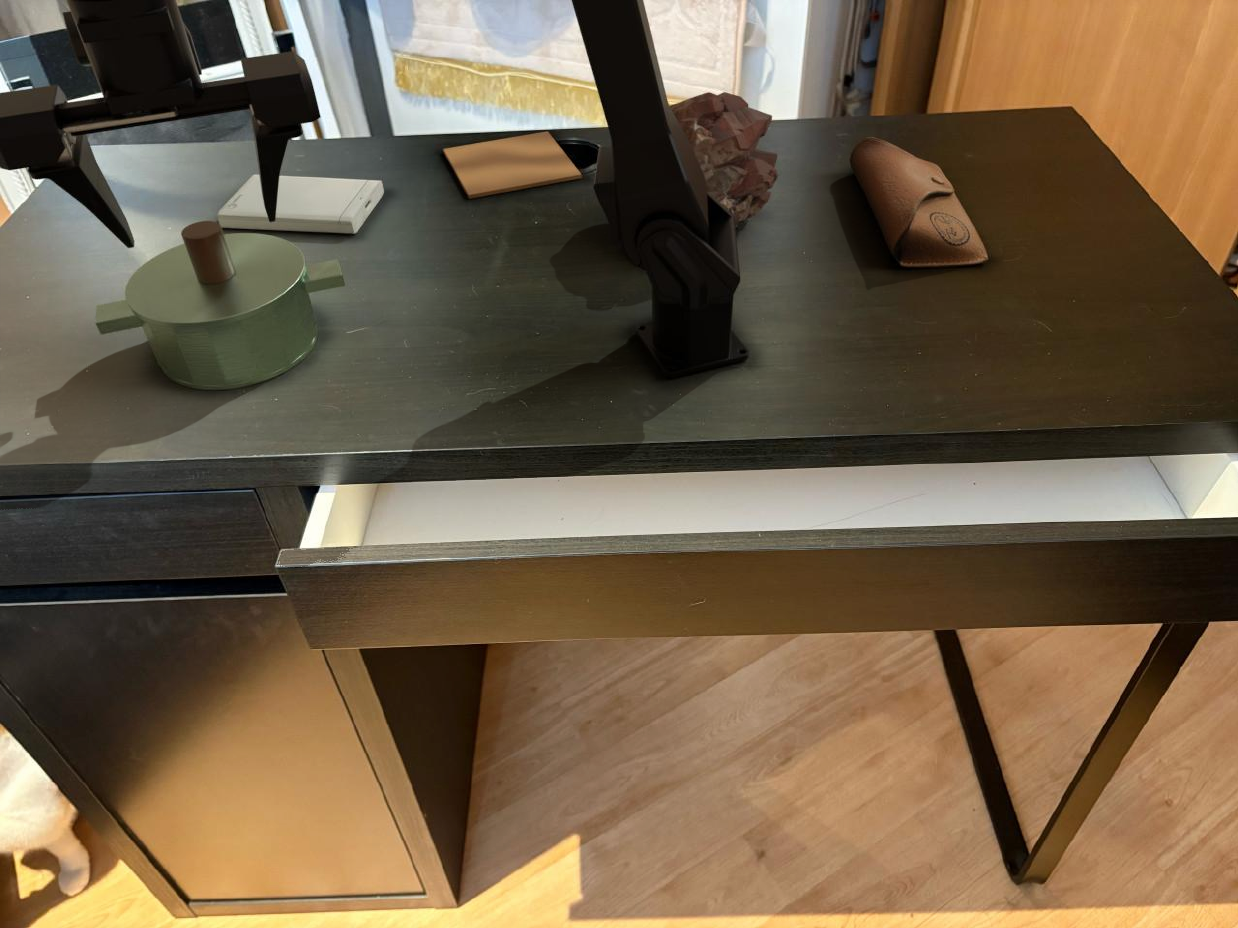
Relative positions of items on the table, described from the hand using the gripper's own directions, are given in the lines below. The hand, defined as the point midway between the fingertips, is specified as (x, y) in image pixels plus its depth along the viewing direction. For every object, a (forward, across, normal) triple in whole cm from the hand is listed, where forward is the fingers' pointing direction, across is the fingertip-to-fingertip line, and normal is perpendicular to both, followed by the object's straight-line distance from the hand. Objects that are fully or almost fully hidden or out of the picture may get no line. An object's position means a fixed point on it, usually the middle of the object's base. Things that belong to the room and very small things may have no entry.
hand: (202, 232), depth 65 cm
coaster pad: (+9, -27, -22) cm, 36 cm away
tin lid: (+4, 0, 0) cm, 4 cm away
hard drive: (+9, -7, -20) cm, 23 cm away
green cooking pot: (+9, 0, 0) cm, 9 cm away
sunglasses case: (+10, -57, +2) cm, 58 cm away
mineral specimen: (+10, -39, -3) cm, 40 cm away
